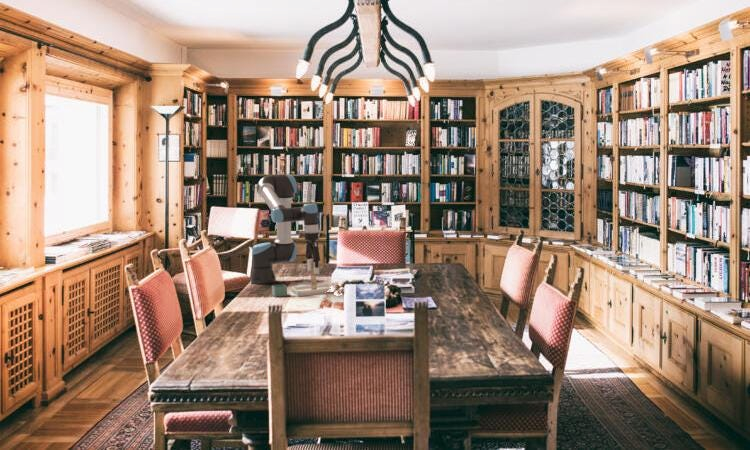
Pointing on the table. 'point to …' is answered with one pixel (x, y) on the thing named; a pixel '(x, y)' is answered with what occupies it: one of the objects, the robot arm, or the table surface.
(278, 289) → the pen cup
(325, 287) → the tray
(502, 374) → the table surface
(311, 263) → the dowel
